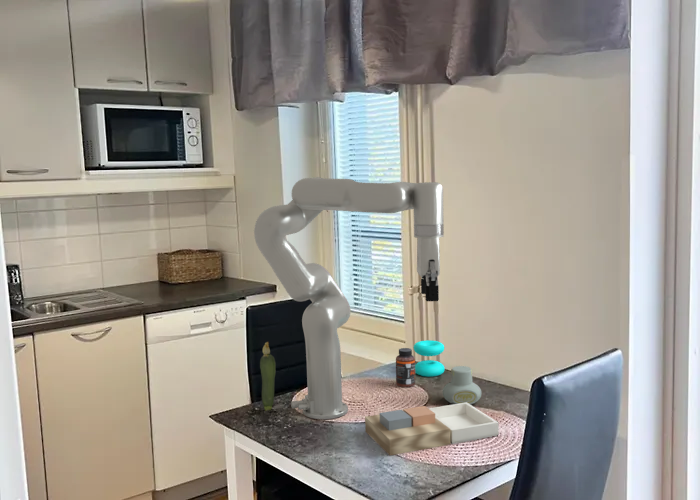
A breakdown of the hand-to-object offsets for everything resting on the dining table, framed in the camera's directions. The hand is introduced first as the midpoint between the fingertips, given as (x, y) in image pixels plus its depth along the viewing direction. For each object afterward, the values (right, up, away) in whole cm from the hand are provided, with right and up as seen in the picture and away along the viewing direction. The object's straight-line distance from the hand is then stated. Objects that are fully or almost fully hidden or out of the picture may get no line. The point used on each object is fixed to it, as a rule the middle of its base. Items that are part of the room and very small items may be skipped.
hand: (429, 297), depth 179 cm
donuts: (+5, -28, +48) cm, 56 cm away
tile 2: (-3, -31, -4) cm, 31 cm away
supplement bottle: (-3, -30, +36) cm, 47 cm away
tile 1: (-9, -31, -6) cm, 33 cm away
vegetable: (-43, -33, +18) cm, 57 cm away
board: (-6, -35, -5) cm, 36 cm away
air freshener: (+11, -32, +19) cm, 39 cm away
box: (+8, -34, 0) cm, 35 cm away
